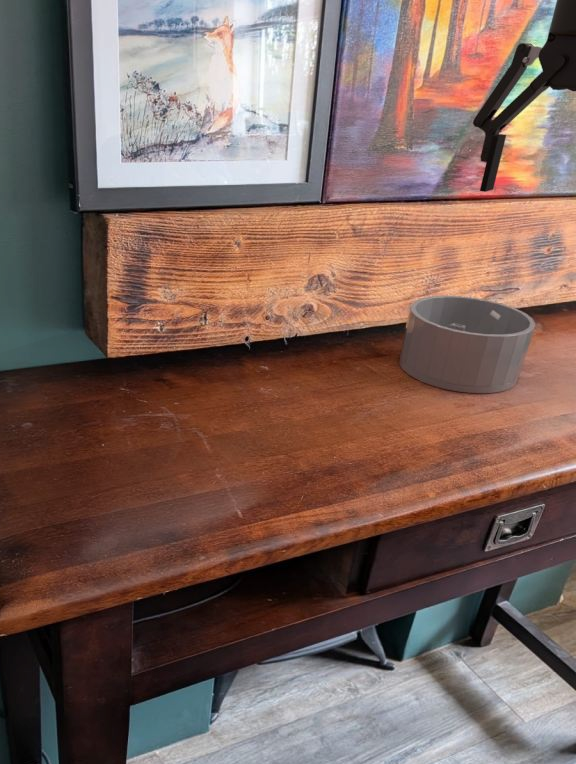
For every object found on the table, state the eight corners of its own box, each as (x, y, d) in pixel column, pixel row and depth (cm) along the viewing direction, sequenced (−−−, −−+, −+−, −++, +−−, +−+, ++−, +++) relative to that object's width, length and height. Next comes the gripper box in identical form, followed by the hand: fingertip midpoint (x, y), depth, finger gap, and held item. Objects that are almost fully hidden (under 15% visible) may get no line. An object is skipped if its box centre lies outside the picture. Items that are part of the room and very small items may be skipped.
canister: (535, 370, 107) (552, 316, 103) (490, 404, 97) (507, 346, 92) (430, 339, 116) (442, 288, 111) (378, 368, 105) (389, 312, 101)
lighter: (433, 359, 106) (446, 304, 102) (436, 355, 107) (449, 301, 103) (483, 371, 103) (499, 314, 99) (486, 367, 105) (502, 311, 100)
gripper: (473, -9, 87) (433, 187, 98) (715, -6, 74) (636, 219, 85) (497, -5, 92) (457, 180, 103) (728, -2, 79) (652, 210, 90)
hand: (538, 198), depth 94 cm, fingers open, 13 cm apart
